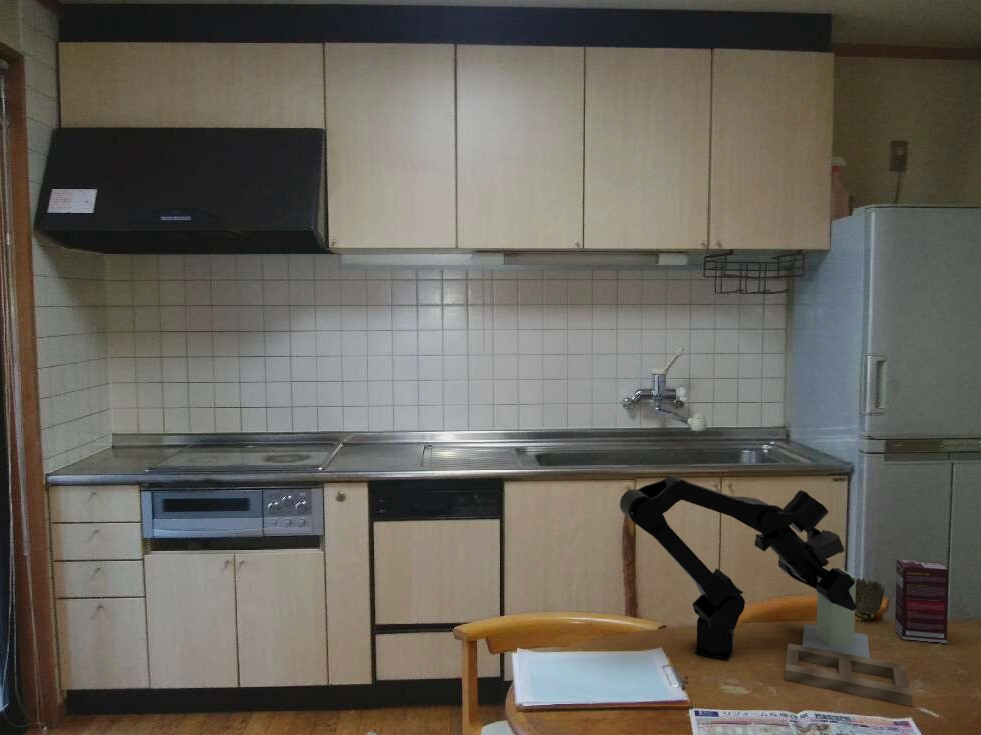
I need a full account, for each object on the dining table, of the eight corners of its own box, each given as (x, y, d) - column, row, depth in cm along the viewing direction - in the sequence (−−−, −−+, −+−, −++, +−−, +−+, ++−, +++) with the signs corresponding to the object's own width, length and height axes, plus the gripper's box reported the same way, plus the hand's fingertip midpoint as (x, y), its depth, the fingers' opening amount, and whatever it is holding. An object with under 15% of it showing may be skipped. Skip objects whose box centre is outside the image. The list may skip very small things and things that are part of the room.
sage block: (830, 646, 139) (832, 578, 138) (816, 635, 144) (818, 569, 143) (854, 645, 139) (856, 577, 139) (839, 634, 144) (841, 568, 143)
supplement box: (938, 634, 146) (940, 561, 146) (947, 645, 142) (950, 569, 141) (893, 630, 148) (895, 558, 148) (901, 640, 144) (903, 565, 143)
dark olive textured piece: (888, 626, 150) (889, 590, 150) (852, 623, 152) (853, 588, 152) (876, 613, 158) (877, 578, 157) (841, 610, 159) (842, 576, 159)
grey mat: (802, 651, 139) (802, 646, 139) (804, 628, 149) (804, 623, 149) (870, 664, 133) (870, 659, 133) (867, 639, 144) (867, 634, 144)
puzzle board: (784, 680, 127) (784, 669, 127) (788, 652, 138) (788, 643, 138) (910, 706, 118) (911, 695, 118) (904, 675, 129) (904, 664, 129)
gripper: (847, 533, 130) (899, 588, 132) (793, 508, 149) (839, 556, 151) (806, 575, 130) (859, 630, 132) (757, 545, 148) (804, 593, 150)
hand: (840, 599), depth 141 cm, fingers open, 9 cm apart
